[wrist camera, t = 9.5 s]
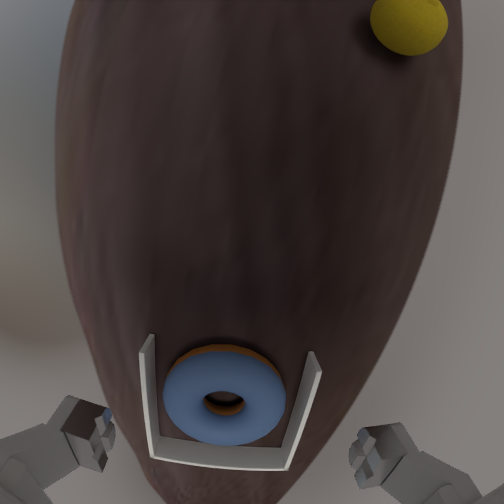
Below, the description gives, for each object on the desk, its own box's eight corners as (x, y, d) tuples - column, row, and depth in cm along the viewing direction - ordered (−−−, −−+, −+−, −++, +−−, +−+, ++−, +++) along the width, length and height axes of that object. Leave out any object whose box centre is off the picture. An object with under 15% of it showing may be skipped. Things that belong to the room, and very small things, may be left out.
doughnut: (223, 441, 24) (223, 472, 20) (145, 378, 23) (131, 406, 18) (303, 384, 24) (316, 413, 20) (226, 309, 23) (225, 330, 18)
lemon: (344, 32, 17) (382, -22, 9) (378, 8, 17) (418, -38, 9) (393, 79, 18) (450, 43, 10) (423, 51, 18) (475, 18, 10)
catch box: (149, 333, 22) (138, 352, 19) (313, 351, 22) (322, 371, 20) (156, 437, 24) (150, 457, 21) (283, 449, 25) (287, 470, 22)
